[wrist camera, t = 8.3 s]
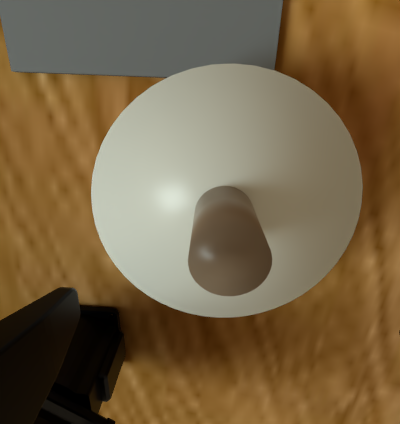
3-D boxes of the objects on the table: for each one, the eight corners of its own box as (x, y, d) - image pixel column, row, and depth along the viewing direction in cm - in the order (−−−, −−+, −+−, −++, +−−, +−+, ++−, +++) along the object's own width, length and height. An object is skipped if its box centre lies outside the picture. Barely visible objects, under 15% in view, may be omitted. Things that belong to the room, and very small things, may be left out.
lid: (110, 303, 17) (70, 382, 12) (81, 61, 12) (-7, 34, 7) (324, 313, 17) (371, 398, 12) (388, 70, 12) (513, 47, 7)
